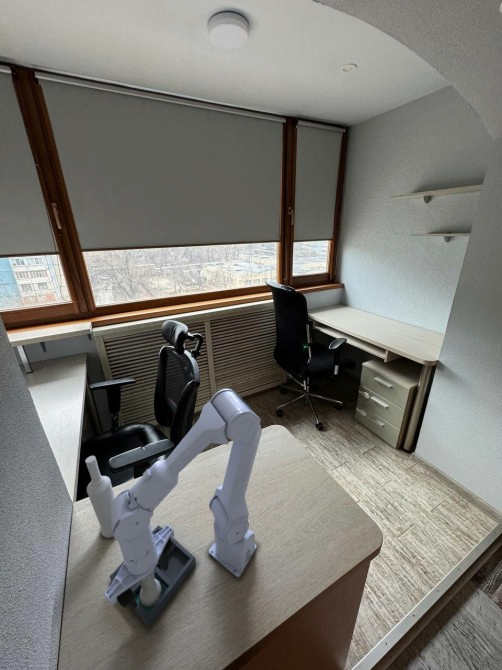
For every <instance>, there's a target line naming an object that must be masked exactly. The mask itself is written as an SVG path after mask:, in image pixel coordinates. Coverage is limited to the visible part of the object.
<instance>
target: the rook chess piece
mask: <svg viewBox="0 0 502 670" xmlns="http://www.w3.org/2000/svg"><path fill="white" fill-rule="evenodd" d="M138 583H139V584H140V585H141V587H142V588H141V592H140V601H141V603H142V605H143V606H145V607H150V606H152V605H154V604H155V603H156V602H157V601H158V600H159V598H160V596H161V591H162V588H161V585H160V583H159V581H158V580H156V579H154V569H153V570H152V571H151V572H150V573H149V574H148V575H147V576H145V577H144V578H143V579H141V580H140V581H138Z"/></svg>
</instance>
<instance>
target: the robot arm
mask: <svg viewBox="0 0 502 670" xmlns="http://www.w3.org/2000/svg"><path fill="white" fill-rule="evenodd" d="M261 422H262V419H261V418H260V417H259V415H257V414H256V413H255V412H254V411H253V410H252V409H251V407H250V406H249V405H248V404H247V403H246V402H245V401H244V399H243V398H242V397H241V396H240V395H239V394H238V393H237V392H235V390H233V389H231V388H222V389H221V390H220V389H219V390H218V391H216V392H215V393H214V394H213V395H212V397H211V398H210V400H209V401H208V402H206V403H205V404H204V405H203V407H202V410H201V412H200V415H199V418H198V419H197V421H196V422H195V423H194V424H193V426H192V427H191V428H190V430H189V431H188V432H187V433H186V434H185V436H184V437H183V438H182V439H181V441H180V442H179V443H178V444H177V445H176V447H175V448H174V450H173V451H171V453H170V454H169V455H168V457H167V458H166V459H161V460H160V459H159V460H157V461H155V462H154V463H152V465H151V466H150V467H149V468H147V469H146V470H145V471H144V472H142V476H141V477H140V478H139V479H138V480H137V482H136V483H134V484H133V485H132V487H131V488H128V489H125V490H123V491H121V492H120V493H118V494H117V495H116V496H115V500H114V501H113V502H112V505H111V507H110V510H111V517H112V528H113V534H114V536H113V538H114V540H116V541H117V542H118V545H119V548H120V552H121V555H122V558H123V562H124V561H125V562H124V564H123V565H122V567H121V569H120V570H119V572H118V574H117V576H116V577H115V578H114V580H113V581H110V583H109V585H108V588H107V589H106V591H104V594H103V595H104V597H105V599H106V601H107V602H108V604H109V605H110V606H111V607H114V605H115V604H116V603H117V602H118V604H119V605H120V606H121V607H123V608H124V609H125V608H127V607H131V608H132V607H133V608H132V610H134V609H136V607H137V606H138V604H137V602H136V599H135V597H136V594H135V593H134V592H133V591H132V590H131V588H130V587H131V586H133V585H134V584H135V583H137V582H138V581H140V580H141V579H143V578H144V577H145V576H147V575H148V574H149V573H150V572H151V571H152V570H153V569H154V567H155V566H156V564H157V562H158V563H159V565H160V566H161V567H162V568H163V569H164V570H165V571H166V570H167V569H168V564H169V560H170V557H171V554H172V552H173V551H174V549H175V544H174V543H173V542H172V541H171V540H170V539H171V538H172V537H173V538H174V537H175V530H174V529H173V527H171V526H170V525H169V524H166V525H165V526H164V527H163V528H162V530H161V531H159V532H158V533H156V534H155V535H153V533H152V531H153V530H152V525H151V520H152V517H153V516H154V511H155V510H156V509H157V507H158V506H159V505H160V504H161V503H162V502H163V500H165V498H166V497H167V496H168V495H169V494H170V493H171V492H172V491H173V490H174V488H175V487H176V486H177V485H178V484H179V474H180V473H181V471H183V470H184V469H185V468H186V467H187V466H188V465H189V464H190V463H191V462H192V461H193V460H194V459H195V458H196V457H197V456H198V455H199V454H201V453H202V452H203V451H204V450H205V449H206V448H207V447H208V446H209V445H211V444H218V445H229V444H230V442H229V441H228V439H229V440H231V441H232V445H231V448H230V452H229V457H228V461H227V466H226V470H225V475H224V479H223V483H222V485H220V486H217V487H216V488H215V491H214V494H213V495H212V497H211V499H210V500H209V502H208V508H209V510H210V512H211V513H212V515H213V518H214V520H213V531H214V542H213V543H212V545H211V546H210V548H209V549H208V554H209V555H210V556H211V557H212V558H214V559H215V560H216V561H217V562H218V563H219V564H221V565H222V566H223V567H225V569H227V570H228V571H229V572H230V573H231V574H233V575H234V576H235V577H236V578H240V577H241V576H242V573H244V570H245V568H246V566H247V565H248V564H249V562H250V560H251V558H252V556H253V555H254V553H255V552H256V549H257V547H258V546H257V544H256V534H255V533H254V532H253V531H252V530H250V529H249V527H250V522H249V516H250V513H249V512H250V511H249V507H248V505H247V501H246V498H245V497H246V493H247V489H248V485H249V482H250V478H251V475H252V472H253V471H252V470H253V467H254V462H255V459H256V456H257V452H258V448H259V444H260V440H261V437H262V431H263V429H262V425H261Z"/></svg>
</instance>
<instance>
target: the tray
mask: <svg viewBox="0 0 502 670" xmlns="http://www.w3.org/2000/svg"><path fill="white" fill-rule="evenodd" d="M162 529H163V528H162V527H161V526H160V525H157V526H156V527H155V528H154V529H153V530H152V533H153V535H155V534H156V533H158V532H159V531H161V530H162ZM170 540H171V541H172V542H173V543H174V544H175V549H174V551H173V552H172V554H171V557H170V560H169V564H168V569H167V570H166V571H165V570H164V569H163V568H162V567H161V566H160V565H159V563H158V562H157V564H156V566H155V567H154V579H156V580H158V581H159V583H160V585H161V588H162V591H161V596H160V598H159V600H158V601H157V602H156V603H155V604H154V605H152V606H150V607H145V606H143V605H142V603H141V601H140V592H141V588H142V587H141V585H140V584H139V583H138V582H137V583H135V584H134V585H133V586H131V587H130V588H131V590H132V591H133V592H134V593H135V594H136V597H135V599H136V602H137V604H138V606H137V607H136V609H133V607H131V608H132V609H133V611H134V612H135V613H136V614H137V616H138V617H139V618H140V619H141V620H142V622H143V623H144V624H145V626H146V627H147V628H148V629H149V628H150V627H151V626H152V624H153V623H154V622H155V620H156V619H157V618H158V616H159V615H160V613H161V612H162V611H163V609H164V608H165V607H166V606H167V604H168V603H169V601H170V600H171V599H172V597H173V596H174V594H175V593H176V592H177V590H178V589H179V588H180V586H181V585H182V584H183V582H184V581H185V580H186V578H187V577H188V575H189V574H190V573H191V571H192V570H193V568H194V567H195V566H196V565H197V563H196V557H195V556H194V555H193V554H192V553H191V552H190V551H189V550H188V549H186V547H184V546H183V545H182V544H180V542H178V541H177V539H175V538H174V536H173V537H172V538H171V539H170ZM124 562H125V561H124V560H123V562H121V564H120V565H118V566H117V568H115V570H114V571H113V572H112V573H111V574H110V575H109V578H110V582H112V581H113V580H114V578H115V577H116V576H117V574H118V572H119V570H120V569H121V567H122V565H123V564H124Z"/></svg>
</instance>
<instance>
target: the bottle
mask: <svg viewBox="0 0 502 670" xmlns="http://www.w3.org/2000/svg"><path fill="white" fill-rule="evenodd" d="M85 464H86V467H87V470H88V472H89V473H88V474H89V476H90V478H91V481H90V482H89V483H88V485H87V486H86V493H87V495H88V497H89V501H90V503H91V506H92V508H93V510H94V513H95V516H96V518H97V521H98V524H99V527H100V529H99V531H100V533H101V534H102V536H103V537H105V538H106V539H110V538H114V534H113V528H112V517H111V510H110V507H111V505H112V502H113V501H114V500H115V498H116V496H115V493H114V489H113V485H112V481H111V479H110V477H109V476H107V475H101V471H100V469H99V465H98V461H97V458H96V456H95V455H90V456H88V457H87V458H86V459H85Z"/></svg>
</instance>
